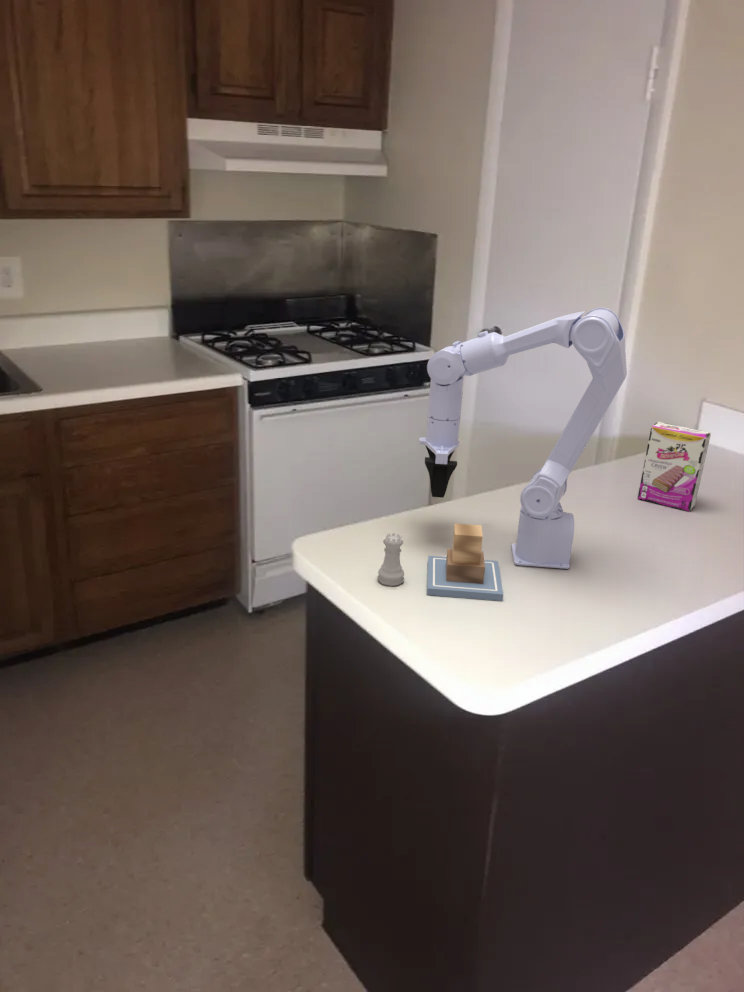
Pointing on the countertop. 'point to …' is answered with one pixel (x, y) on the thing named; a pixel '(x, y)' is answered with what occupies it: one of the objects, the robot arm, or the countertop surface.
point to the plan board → (467, 585)
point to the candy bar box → (673, 465)
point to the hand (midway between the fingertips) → (437, 488)
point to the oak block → (467, 544)
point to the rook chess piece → (391, 562)
